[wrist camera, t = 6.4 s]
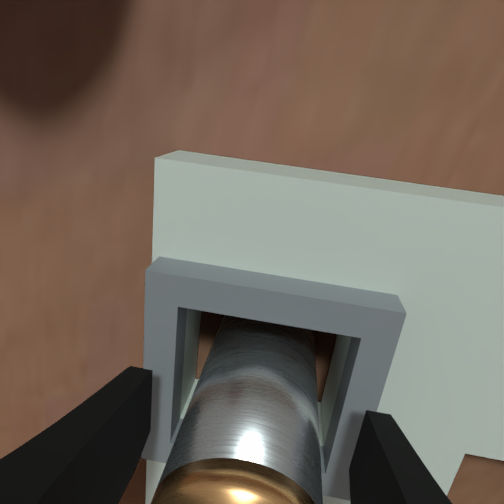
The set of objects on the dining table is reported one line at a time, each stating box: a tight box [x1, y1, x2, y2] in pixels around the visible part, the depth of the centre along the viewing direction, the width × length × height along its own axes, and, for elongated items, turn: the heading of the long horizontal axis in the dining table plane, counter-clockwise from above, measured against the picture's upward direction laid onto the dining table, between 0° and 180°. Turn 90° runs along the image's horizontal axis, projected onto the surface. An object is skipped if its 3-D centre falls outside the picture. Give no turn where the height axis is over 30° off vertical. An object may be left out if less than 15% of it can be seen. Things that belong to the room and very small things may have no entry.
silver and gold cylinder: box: [151, 315, 323, 504], centre depth 10 cm, size 4×4×7 cm
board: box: [142, 150, 504, 504], centre depth 12 cm, size 18×16×3 cm
